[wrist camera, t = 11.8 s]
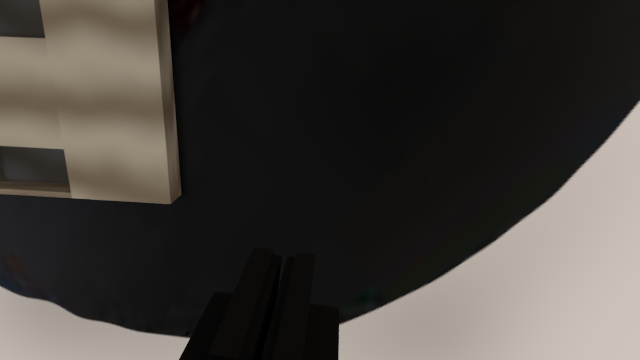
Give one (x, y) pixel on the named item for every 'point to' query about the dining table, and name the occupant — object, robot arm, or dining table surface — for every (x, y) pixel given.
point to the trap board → (88, 100)
